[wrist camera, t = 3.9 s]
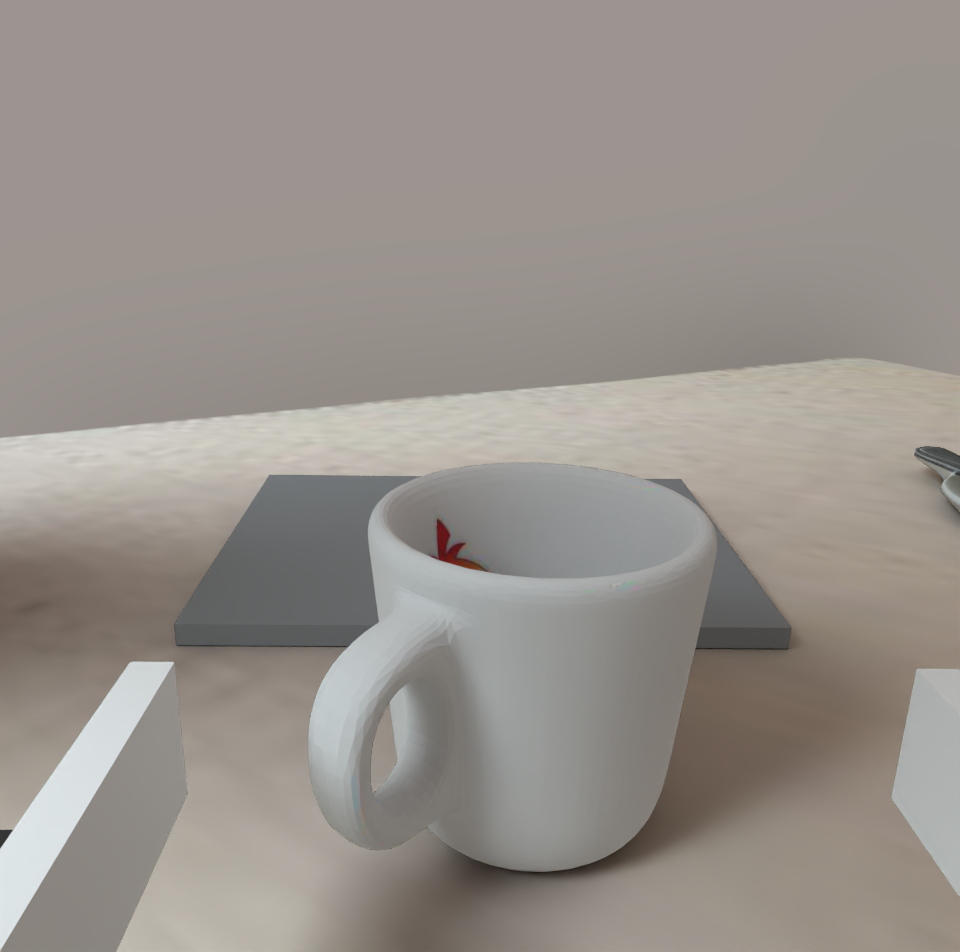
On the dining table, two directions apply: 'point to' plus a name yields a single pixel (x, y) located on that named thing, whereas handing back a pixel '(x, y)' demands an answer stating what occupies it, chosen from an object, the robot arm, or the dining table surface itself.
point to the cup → (516, 663)
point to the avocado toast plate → (943, 470)
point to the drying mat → (349, 579)
